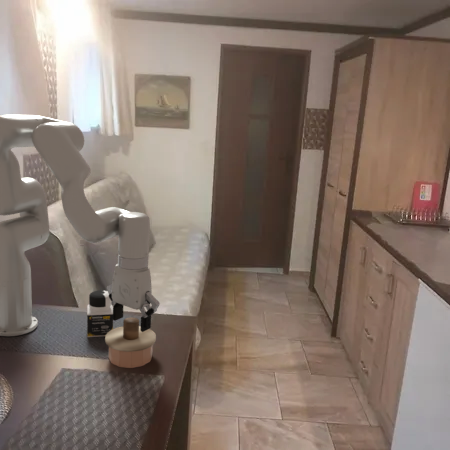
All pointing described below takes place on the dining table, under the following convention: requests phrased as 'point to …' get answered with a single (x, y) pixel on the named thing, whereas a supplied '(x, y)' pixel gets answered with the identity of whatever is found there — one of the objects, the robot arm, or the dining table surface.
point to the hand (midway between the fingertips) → (131, 324)
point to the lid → (130, 337)
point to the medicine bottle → (99, 314)
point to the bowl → (130, 357)
